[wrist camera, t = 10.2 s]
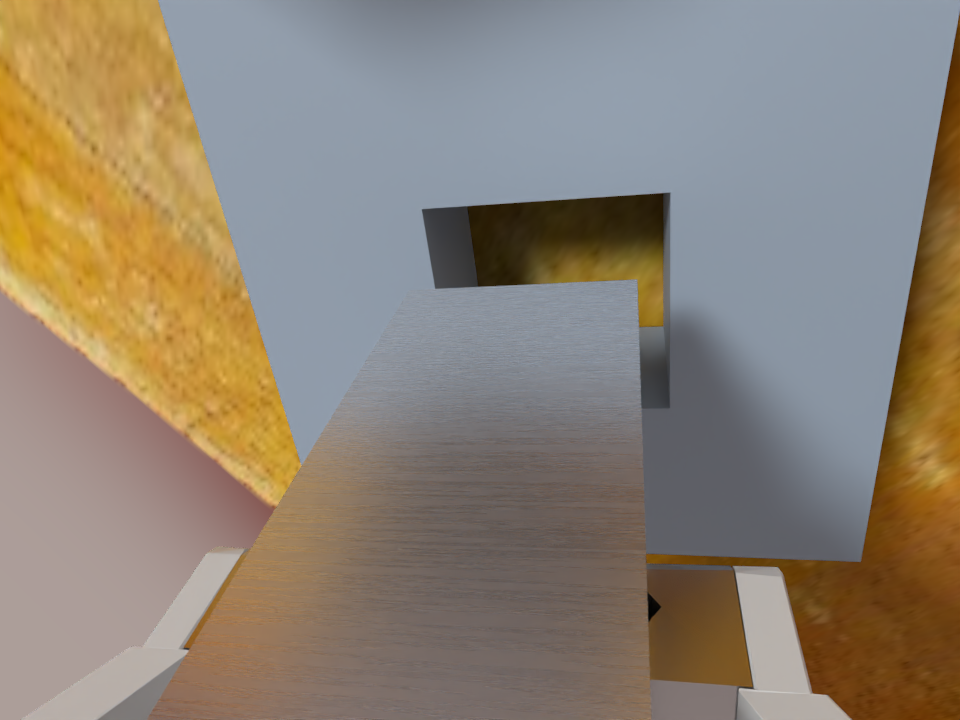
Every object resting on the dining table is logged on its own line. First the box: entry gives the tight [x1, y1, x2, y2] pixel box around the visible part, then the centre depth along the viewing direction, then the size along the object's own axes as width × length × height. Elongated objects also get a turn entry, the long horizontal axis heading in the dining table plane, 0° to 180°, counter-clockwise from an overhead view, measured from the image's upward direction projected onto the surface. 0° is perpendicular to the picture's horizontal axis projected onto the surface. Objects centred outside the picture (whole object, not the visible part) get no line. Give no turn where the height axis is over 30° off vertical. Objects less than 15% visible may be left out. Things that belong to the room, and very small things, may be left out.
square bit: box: [147, 280, 651, 720], centre depth 9 cm, size 4×4×10 cm
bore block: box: [158, 0, 960, 562], centre depth 17 cm, size 14×14×4 cm
